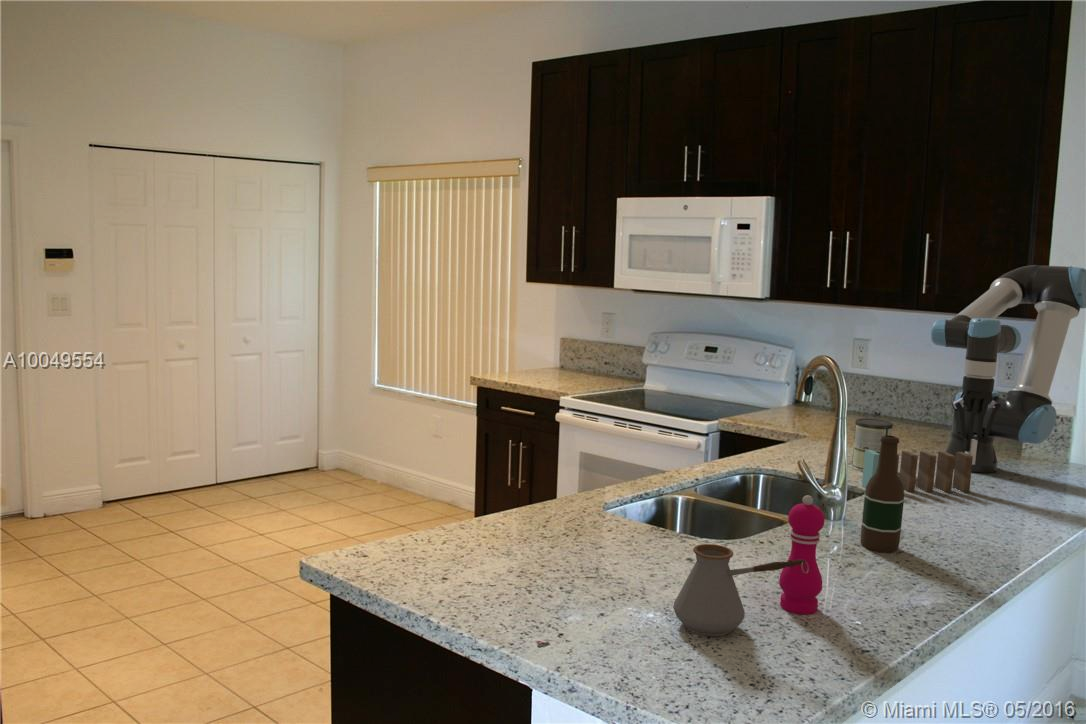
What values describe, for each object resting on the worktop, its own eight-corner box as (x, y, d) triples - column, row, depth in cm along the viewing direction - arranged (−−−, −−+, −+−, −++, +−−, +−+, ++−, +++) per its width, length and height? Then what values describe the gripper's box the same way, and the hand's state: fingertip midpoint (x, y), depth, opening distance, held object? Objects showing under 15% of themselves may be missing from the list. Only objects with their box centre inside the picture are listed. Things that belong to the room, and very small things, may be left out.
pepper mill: (771, 599, 162) (780, 489, 159) (810, 599, 162) (820, 490, 160) (785, 615, 154) (795, 501, 152) (826, 616, 155) (837, 502, 152)
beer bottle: (898, 544, 196) (909, 435, 193) (899, 555, 189) (911, 442, 186) (859, 539, 198) (870, 431, 195) (859, 549, 191) (870, 437, 188)
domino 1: (868, 486, 245) (871, 450, 244) (876, 491, 240) (880, 454, 239) (861, 486, 245) (865, 449, 243) (870, 491, 240) (874, 454, 238)
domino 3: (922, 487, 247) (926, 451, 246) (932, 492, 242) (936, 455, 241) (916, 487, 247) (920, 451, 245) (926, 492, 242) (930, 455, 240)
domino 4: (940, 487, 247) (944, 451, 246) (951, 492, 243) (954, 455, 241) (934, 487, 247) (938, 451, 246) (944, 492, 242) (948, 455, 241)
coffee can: (847, 463, 271) (851, 417, 269) (883, 466, 270) (887, 419, 268) (855, 472, 261) (860, 423, 259) (892, 474, 260) (897, 426, 258)
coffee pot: (659, 627, 147) (665, 537, 145) (692, 606, 156) (698, 522, 155) (785, 668, 135) (794, 570, 133) (813, 643, 144) (821, 551, 142)
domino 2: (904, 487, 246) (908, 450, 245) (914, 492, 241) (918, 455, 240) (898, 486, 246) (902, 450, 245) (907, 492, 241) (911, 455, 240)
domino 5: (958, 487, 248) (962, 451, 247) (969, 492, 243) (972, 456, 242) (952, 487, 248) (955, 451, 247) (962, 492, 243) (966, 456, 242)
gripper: (993, 375, 246) (983, 460, 249) (948, 373, 245) (938, 459, 247) (1010, 379, 239) (1000, 467, 242) (964, 377, 237) (954, 466, 240)
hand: (969, 463), depth 245 cm, fingers closed
